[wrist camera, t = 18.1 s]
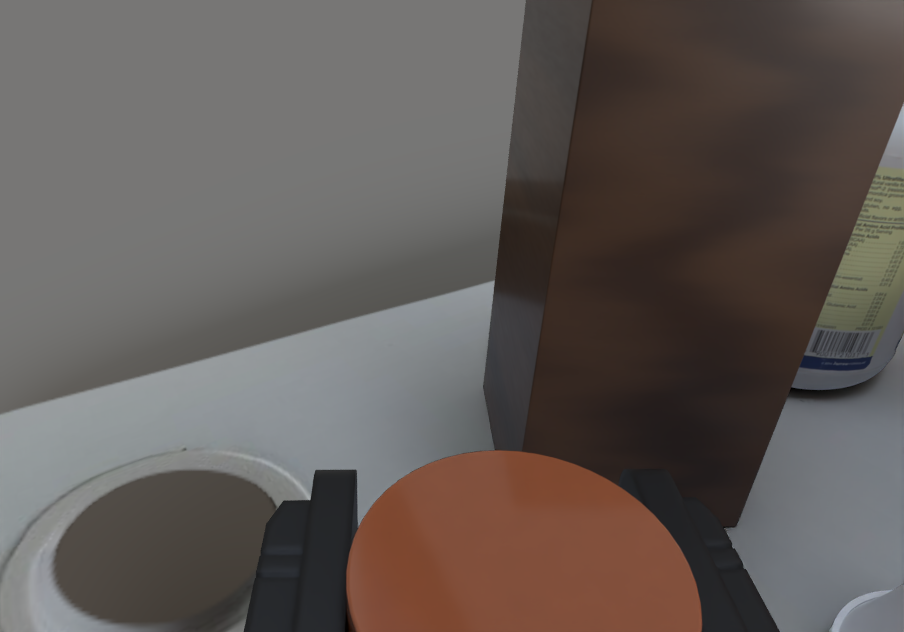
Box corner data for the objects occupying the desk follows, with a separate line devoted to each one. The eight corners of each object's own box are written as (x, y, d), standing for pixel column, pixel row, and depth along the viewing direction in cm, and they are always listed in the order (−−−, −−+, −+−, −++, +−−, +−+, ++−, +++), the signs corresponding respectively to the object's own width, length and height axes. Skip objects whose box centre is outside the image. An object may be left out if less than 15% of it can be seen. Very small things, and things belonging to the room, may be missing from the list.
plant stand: (509, 529, 26) (631, -249, 14) (483, 387, 33) (547, -192, 22) (736, 527, 27) (1028, -208, 15) (659, 388, 34) (811, -167, 23)
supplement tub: (732, 270, 47) (815, 0, 38) (922, 353, 39) (1081, 36, 30) (616, 317, 40) (685, 3, 31) (817, 431, 32) (984, 49, 23)
